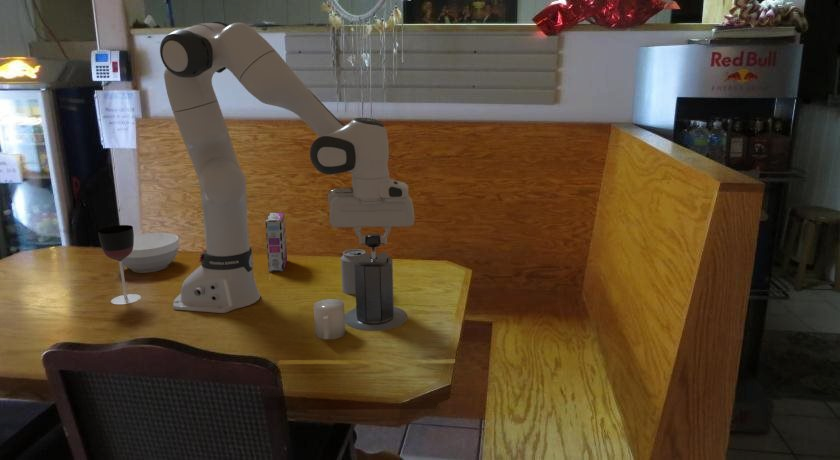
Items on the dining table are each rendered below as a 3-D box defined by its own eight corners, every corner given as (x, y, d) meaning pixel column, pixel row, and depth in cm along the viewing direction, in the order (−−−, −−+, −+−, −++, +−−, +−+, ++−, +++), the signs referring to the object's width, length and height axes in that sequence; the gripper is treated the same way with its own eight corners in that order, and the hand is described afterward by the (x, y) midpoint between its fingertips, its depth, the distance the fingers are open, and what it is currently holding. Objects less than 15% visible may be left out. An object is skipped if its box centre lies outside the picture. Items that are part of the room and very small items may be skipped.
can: (364, 298, 169) (363, 256, 165) (338, 296, 170) (336, 255, 167) (372, 288, 176) (371, 248, 172) (347, 286, 177) (345, 247, 174)
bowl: (167, 277, 186) (164, 249, 184) (105, 277, 187) (101, 250, 184) (190, 257, 205) (187, 232, 202) (134, 258, 205) (130, 232, 203)
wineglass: (149, 295, 172) (139, 226, 166) (122, 307, 164) (112, 235, 159) (128, 291, 175) (118, 223, 170) (102, 302, 167) (90, 231, 162)
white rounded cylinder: (311, 347, 140) (309, 314, 138) (318, 329, 149) (316, 299, 147) (342, 346, 140) (340, 314, 138) (347, 329, 149) (345, 298, 147)
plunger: (360, 289, 149) (358, 239, 146) (363, 280, 155) (361, 232, 151) (386, 289, 149) (384, 239, 145) (387, 280, 155) (386, 231, 151)
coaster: (339, 333, 147) (339, 330, 147) (347, 307, 162) (347, 304, 162) (406, 333, 147) (406, 330, 146) (408, 307, 162) (408, 304, 162)
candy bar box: (285, 271, 190) (281, 220, 186) (268, 272, 190) (264, 221, 185) (288, 260, 201) (284, 211, 196) (272, 261, 200) (268, 212, 196)
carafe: (355, 324, 150) (352, 264, 146) (360, 306, 161) (357, 249, 157) (392, 324, 150) (391, 263, 146) (395, 305, 161) (393, 248, 157)
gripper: (325, 191, 142) (328, 248, 146) (413, 190, 142) (414, 247, 146) (329, 185, 148) (332, 240, 152) (414, 184, 148) (415, 239, 152)
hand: (373, 243), depth 149 cm, fingers closed on plunger, 4 cm apart
